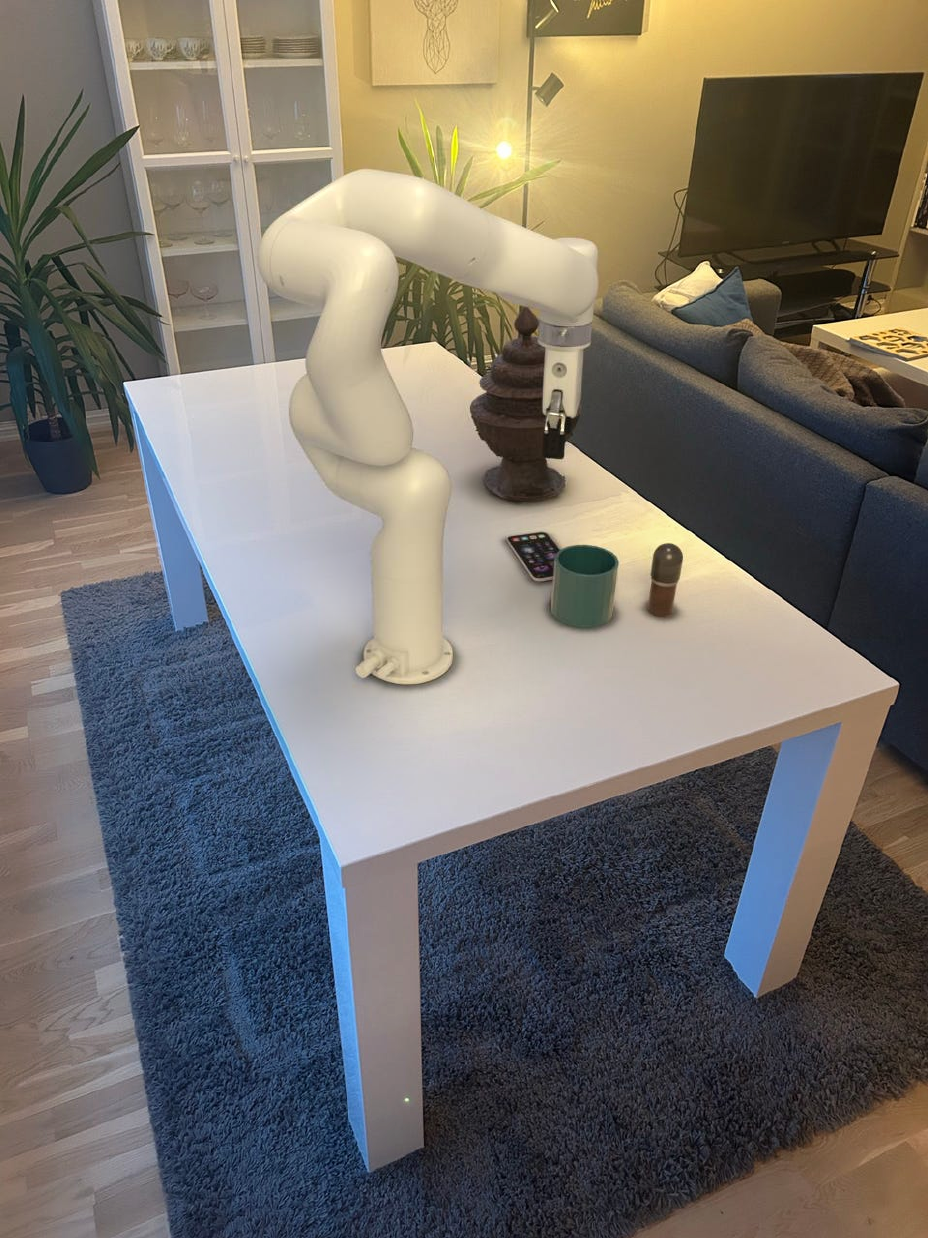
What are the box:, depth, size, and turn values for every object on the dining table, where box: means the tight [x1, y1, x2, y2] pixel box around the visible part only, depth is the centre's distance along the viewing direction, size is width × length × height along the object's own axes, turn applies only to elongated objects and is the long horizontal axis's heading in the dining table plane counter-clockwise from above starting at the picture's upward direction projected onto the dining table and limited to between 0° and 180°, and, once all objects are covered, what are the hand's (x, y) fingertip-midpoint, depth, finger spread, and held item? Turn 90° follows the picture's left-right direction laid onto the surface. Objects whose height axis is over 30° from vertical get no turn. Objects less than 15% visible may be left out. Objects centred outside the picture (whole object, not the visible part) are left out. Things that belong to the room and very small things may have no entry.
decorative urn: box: [469, 306, 582, 503], centre depth 173 cm, size 20×20×35 cm
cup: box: [550, 544, 620, 629], centre depth 144 cm, size 9×9×9 cm
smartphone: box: [506, 531, 561, 582], centre depth 159 cm, size 8×1×15 cm
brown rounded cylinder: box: [646, 542, 684, 617], centre depth 144 cm, size 4×4×11 cm
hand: (556, 444), depth 144 cm, fingers open, 9 cm apart
